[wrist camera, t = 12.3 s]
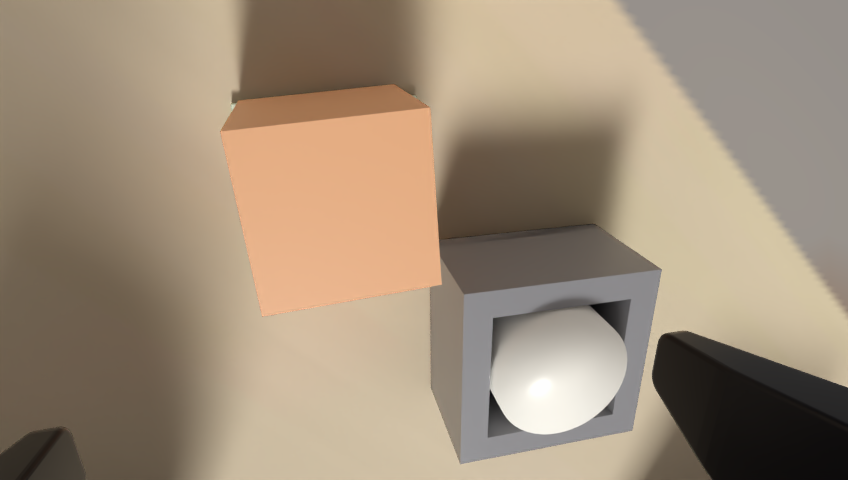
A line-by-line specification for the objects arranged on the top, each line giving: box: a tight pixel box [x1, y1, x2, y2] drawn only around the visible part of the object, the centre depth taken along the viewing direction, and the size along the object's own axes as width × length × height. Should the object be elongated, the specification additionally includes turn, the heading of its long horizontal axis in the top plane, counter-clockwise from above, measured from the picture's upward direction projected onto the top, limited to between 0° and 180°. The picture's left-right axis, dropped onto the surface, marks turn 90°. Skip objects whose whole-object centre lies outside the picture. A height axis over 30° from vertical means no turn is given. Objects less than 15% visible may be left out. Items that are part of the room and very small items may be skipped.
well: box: [430, 224, 662, 464], centre depth 21 cm, size 7×7×4 cm
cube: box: [220, 84, 442, 317], centre depth 16 cm, size 5×5×5 cm
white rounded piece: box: [490, 305, 627, 434], centre depth 20 cm, size 5×5×4 cm
